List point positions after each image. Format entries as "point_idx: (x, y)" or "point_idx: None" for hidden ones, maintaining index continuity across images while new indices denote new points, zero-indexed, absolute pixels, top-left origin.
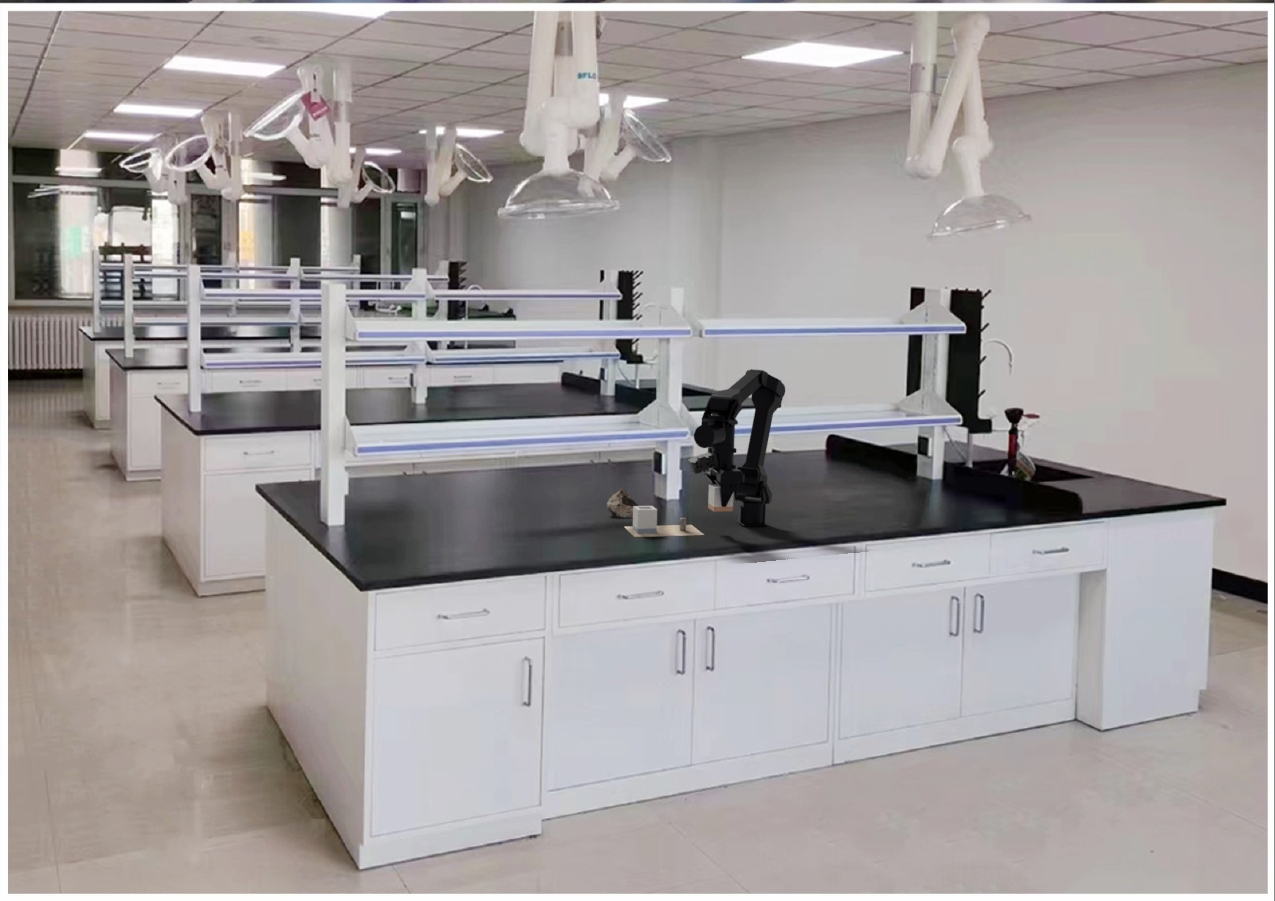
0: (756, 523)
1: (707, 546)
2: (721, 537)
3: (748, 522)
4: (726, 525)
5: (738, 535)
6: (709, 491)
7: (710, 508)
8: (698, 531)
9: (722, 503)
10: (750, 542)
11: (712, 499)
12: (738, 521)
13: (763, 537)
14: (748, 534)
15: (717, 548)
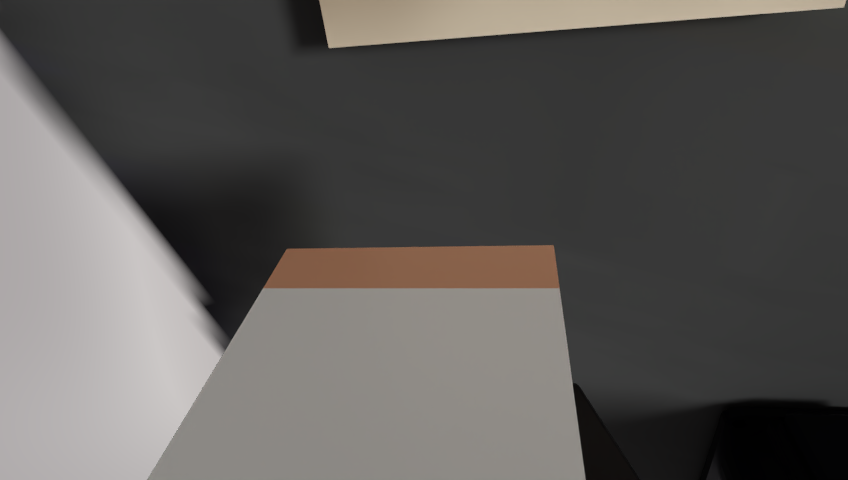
0: (721, 473)
1: (91, 8)
2: (425, 194)
3: (750, 448)
4: (832, 326)
5: None
6: (516, 468)
7: (434, 253)
8: (478, 18)
9: None
10: None
11: (312, 359)
12: (841, 414)
13: None
14: None
15: (51, 77)
